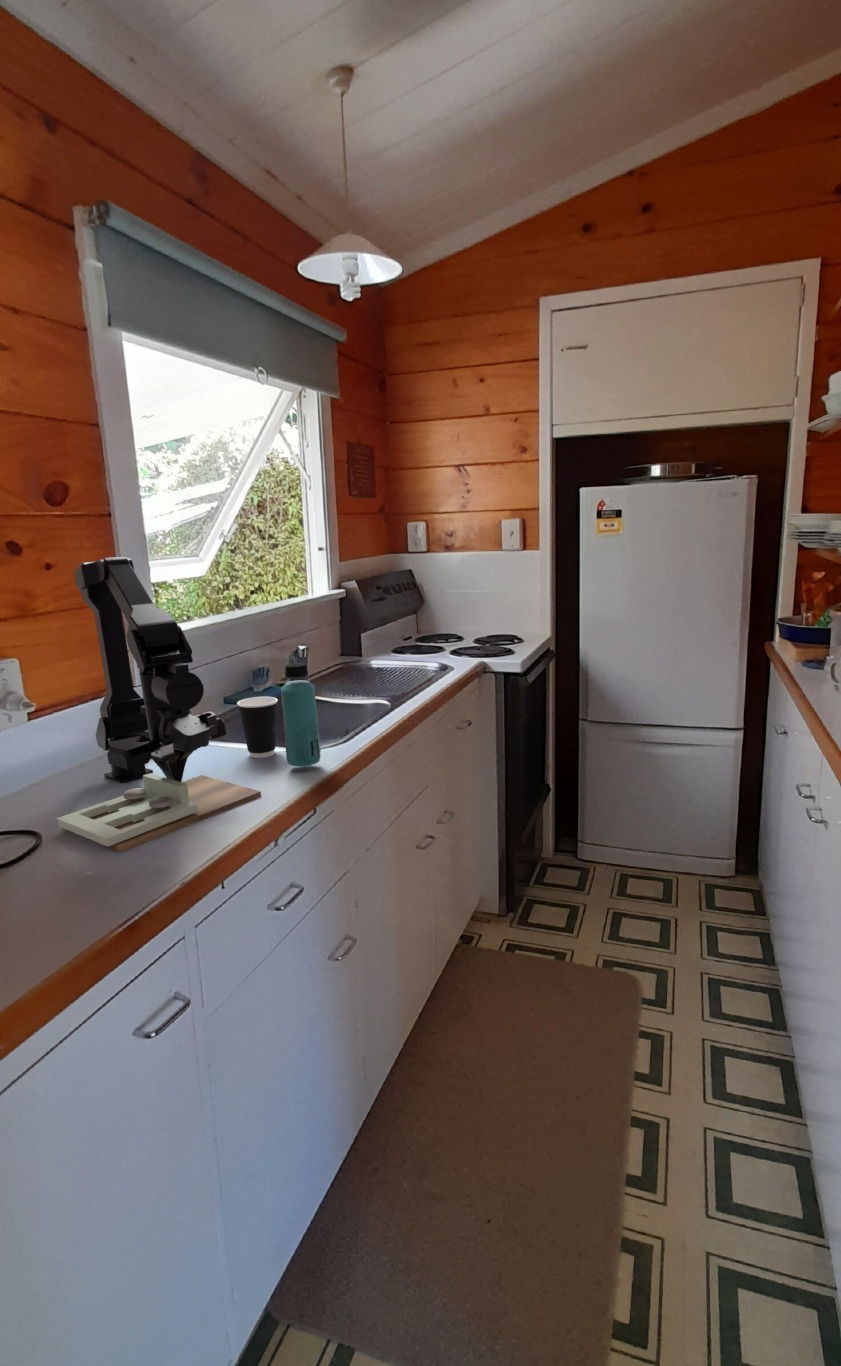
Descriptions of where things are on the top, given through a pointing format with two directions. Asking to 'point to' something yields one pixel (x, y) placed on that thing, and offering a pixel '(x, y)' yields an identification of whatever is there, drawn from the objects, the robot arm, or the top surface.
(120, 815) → the sage panel
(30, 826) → the top surface
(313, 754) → the beverage bottle
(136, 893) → the top surface
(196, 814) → the walnut board
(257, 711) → the dixie cup
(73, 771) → the top surface
